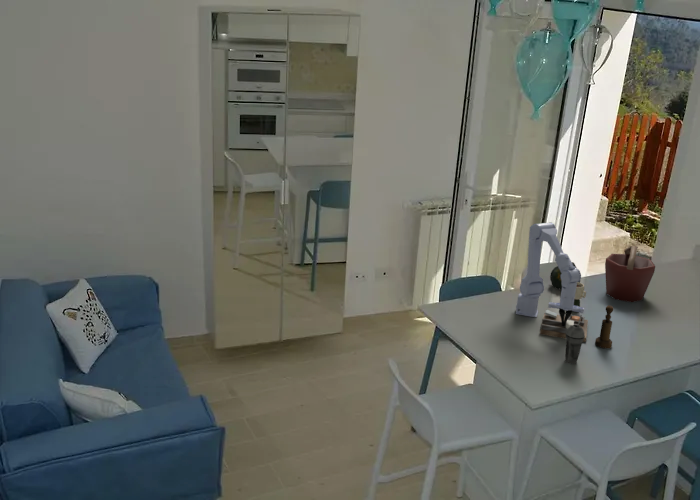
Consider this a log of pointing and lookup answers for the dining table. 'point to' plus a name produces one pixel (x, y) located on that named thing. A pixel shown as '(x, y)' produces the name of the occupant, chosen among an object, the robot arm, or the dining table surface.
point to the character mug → (579, 293)
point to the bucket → (628, 275)
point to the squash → (557, 277)
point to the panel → (560, 326)
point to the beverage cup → (573, 342)
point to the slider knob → (569, 323)
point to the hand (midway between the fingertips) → (563, 325)
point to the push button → (575, 318)
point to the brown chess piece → (605, 330)
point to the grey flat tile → (551, 313)
